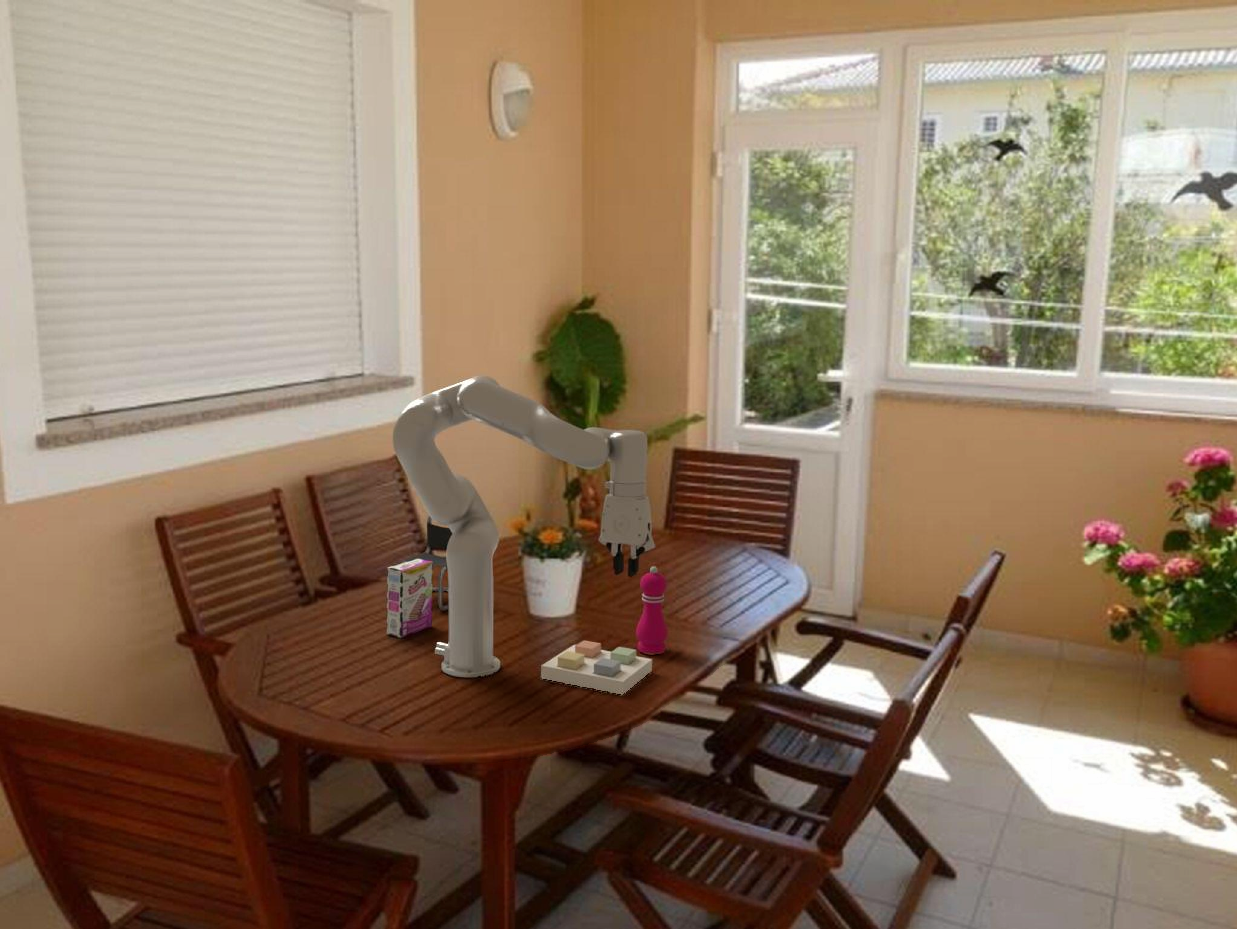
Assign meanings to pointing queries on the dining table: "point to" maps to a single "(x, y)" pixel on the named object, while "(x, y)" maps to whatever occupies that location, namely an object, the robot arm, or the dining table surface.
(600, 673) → the slate button
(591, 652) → the terracotta button
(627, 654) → the sage button
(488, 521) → the robot arm
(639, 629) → the pepper mill
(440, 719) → the dining table surface
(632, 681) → the console
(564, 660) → the ochre button
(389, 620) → the candy bar box
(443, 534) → the chair
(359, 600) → the dining table surface
